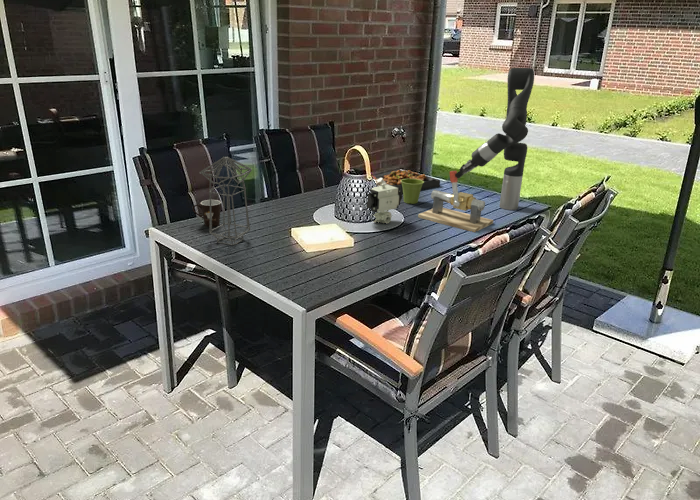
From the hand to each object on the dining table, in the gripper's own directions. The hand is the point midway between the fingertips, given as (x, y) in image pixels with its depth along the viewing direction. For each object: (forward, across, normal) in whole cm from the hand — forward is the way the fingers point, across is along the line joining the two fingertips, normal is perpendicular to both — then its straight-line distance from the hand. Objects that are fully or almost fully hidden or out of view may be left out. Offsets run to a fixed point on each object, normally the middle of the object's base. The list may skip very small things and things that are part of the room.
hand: (456, 176), depth 246 cm
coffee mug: (+71, +77, -40) cm, 112 cm away
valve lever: (+9, 0, +11) cm, 14 cm away
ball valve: (+34, +21, -2) cm, 39 cm away
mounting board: (+17, -6, +15) cm, 23 cm away
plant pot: (+40, -16, -8) cm, 44 cm away
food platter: (+57, -37, -24) cm, 72 cm away
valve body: (+16, -5, +14) cm, 22 cm away
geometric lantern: (+54, +85, -23) cm, 104 cm away
